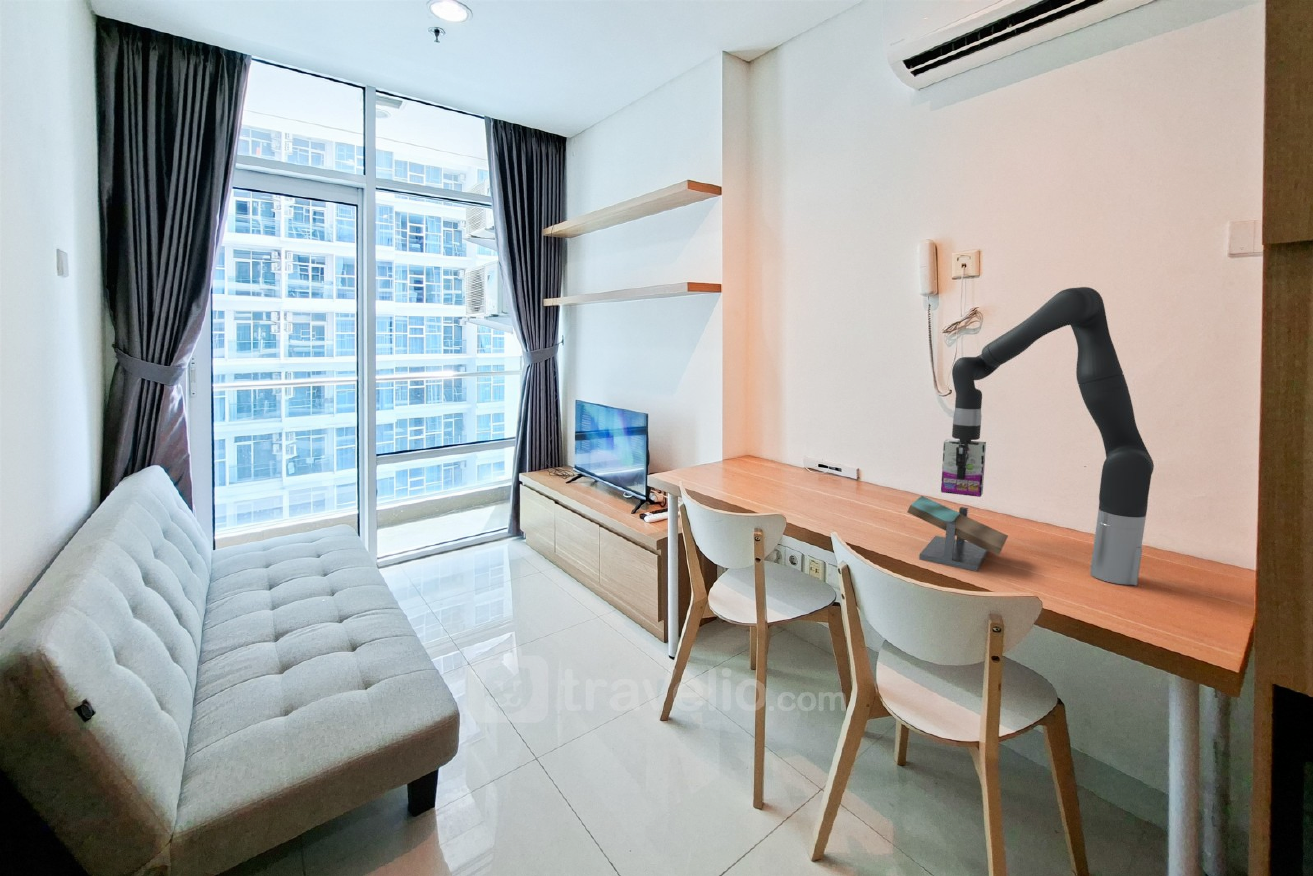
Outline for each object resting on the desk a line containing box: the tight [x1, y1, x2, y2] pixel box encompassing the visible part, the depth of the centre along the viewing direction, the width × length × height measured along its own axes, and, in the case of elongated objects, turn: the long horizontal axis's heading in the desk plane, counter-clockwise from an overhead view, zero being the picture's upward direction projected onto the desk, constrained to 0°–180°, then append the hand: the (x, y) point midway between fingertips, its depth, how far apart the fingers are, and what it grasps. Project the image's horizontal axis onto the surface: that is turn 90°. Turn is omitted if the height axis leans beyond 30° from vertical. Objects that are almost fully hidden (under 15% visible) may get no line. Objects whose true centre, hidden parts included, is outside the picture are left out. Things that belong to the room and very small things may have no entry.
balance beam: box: [907, 495, 1009, 556], centre depth 158 cm, size 24×15×2 cm, turn 55°
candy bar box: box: [940, 439, 987, 498], centre depth 174 cm, size 11×5×16 cm, turn 55°
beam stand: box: [918, 506, 989, 572], centre depth 158 cm, size 14×20×12 cm
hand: (962, 477), depth 175 cm, fingers closed on candy bar box, 5 cm apart
